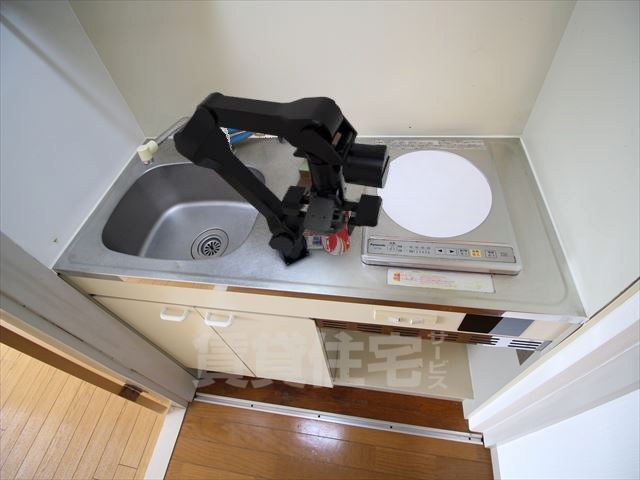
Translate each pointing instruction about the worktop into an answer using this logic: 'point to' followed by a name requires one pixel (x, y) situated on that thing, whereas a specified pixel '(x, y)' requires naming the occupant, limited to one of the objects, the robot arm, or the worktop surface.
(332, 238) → the beverage can
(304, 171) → the step shelf
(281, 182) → the worktop surface
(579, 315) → the worktop surface
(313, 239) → the smartphone
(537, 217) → the worktop surface
